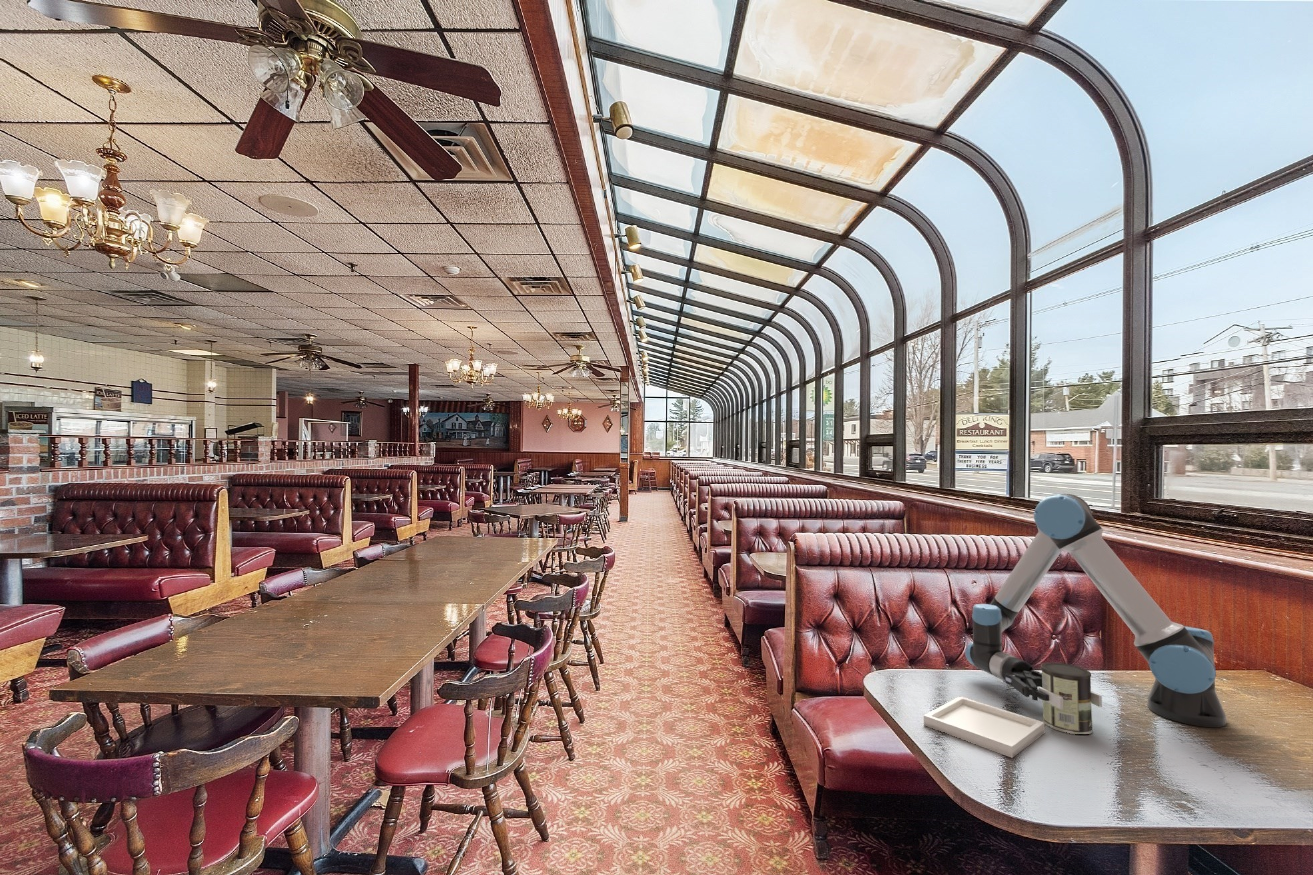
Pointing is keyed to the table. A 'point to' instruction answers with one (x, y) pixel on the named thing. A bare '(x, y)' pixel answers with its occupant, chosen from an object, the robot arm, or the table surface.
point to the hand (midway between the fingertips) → (1081, 702)
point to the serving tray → (985, 725)
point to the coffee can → (1068, 698)
